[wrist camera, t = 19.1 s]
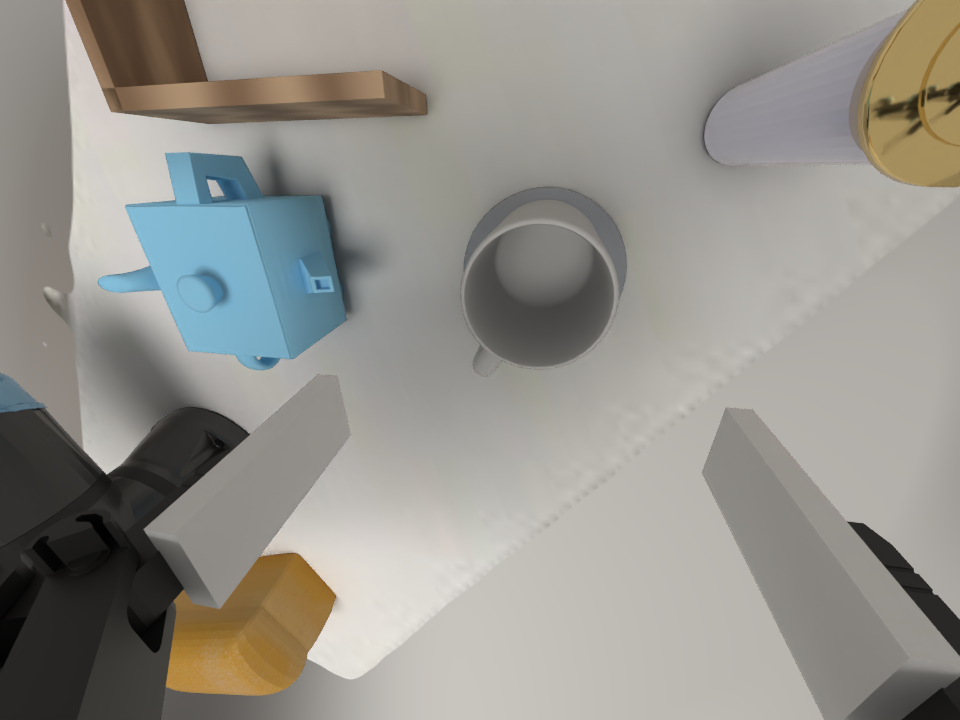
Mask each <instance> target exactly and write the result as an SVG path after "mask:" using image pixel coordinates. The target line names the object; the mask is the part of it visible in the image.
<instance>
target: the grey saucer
mask: <svg viewBox="0 0 960 720" xmlns="http://www.w3.org/2000/svg"><path fill="white" fill-rule="evenodd" d="M548 199H549V200H557V201H562V202H565V203H567V204H570V205H572V206H574V207H575V208H577V209H578V210H580V211H581V212H582V213H584V214H585V216H586V217H587V218H588V219H589V220H590V221H591V223H592V224H593V226H594V228H595V230H596V232H597V234H598V236H599V238H600V239H601V241H602V243H603V245H604V246H605V248H606V250H607V251H608V253H609V255H610V257H611V259H612V261H613V264H614V267H615V270H616V273H617V278H618V283H619V298H620V295H621V293H622V290H623V286H624V282H625V278H626V268H627V267H626V253H625V247H624V244H623V241H622V238H621V235H620V233H619V231H618V229H617V227H616V225H615V224H614V222H613V221H612V219H611V218H610V217H609V215H608V214H607V213H606V212H605V211H604V210H603V209H602V208H601V207H600V206H599V205H597V204H596V203H595V202H593V201H592V200H591V199H589V198H587V197H585V196H583V195H582V194H579V193H577V192H574V191H571V190H567V189H562V188H555V187H542V188H533V189H529V190H525V191H522V192H519V193H517V194H514V195H512V196H510V197H508V198H507V199H505V200H503V201H502V202H500V203H499V204H498V205H496V206H495V207H493V208H492V209H491V210H490V211H489V212H488V213H487V214H486V215H485V216H484V218H483V219H482V220H481V221H480V222H479V224H478V225H477V227H476V229H475V230H474V232H473V234H472V236H471V238H470V241H469V243H468V246H467V250H466V253H465V259H464V271H465V268H466V265H467V263H468V261H469V259H470V257H471V256H472V254H473V253H474V251H475V249H476V248H477V247H478V246H479V244H480V243H481V242H482V241H483V240H484V239H485V238H486V237H487V236H488V235H489V234H490V233H491V232H492V231H493V230H494V229H495V228H496V227H497V226H498V225H499V224H500V223H501V222H502V221H503V220H504V219H505V217H507V216H508V215H509V214H510V213H511V212H512V211H514V210H515V209H517V208H518V207H520V206H522V205H524V204H527V203H530V202H533V201H537V200H548ZM618 300H619V299H618Z"/></svg>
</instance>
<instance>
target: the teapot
mask: <svg viewBox="0 0 960 720" xmlns="http://www.w3.org/2000/svg"><path fill="white" fill-rule="evenodd" d="M165 155H166V160H167V164H168V169H169V173H170V177H171V182H172V186H173V191H174V195H175V200H174V201H163V202H152V203H140V204H129V205H126V206H125V208H126V210H127V213H128V215H129V218H130V220H131V222H132V225H133V227H134V229H135V232H136V234H137V236H138V239H139V241H140V243H141V245H142V248H143V250H144V252H145V255H146V257H147V259H148V261H149V264H150V266H149V267H146V268H143V269H140V270H136V271H133V272H128V273H123V274H115V275H107V276H103V277H101V278H99V279H98V284H99V286H100V287H101V288H103V289H105V290H107V291H111V292H118V293H124V292H137V291H153V290H161V291H162V293H163V296H164V298H165V300H166V302H167V305H168V307H169V309H170V311H171V314H172V316H173V318H174V320H175V322H176V325H177V327H178V329H179V331H180V334H181V336H182V338H183V340H184V342H185V345H186V347H187V349H188V351H195V352H208V353H219V354H230V355H236V357H237V359H238V361H239V362H240V363H241V364H243V365H244V366H246V367H248V368H250V369H254V370H267V369H270V368H272V367H274V366H275V365H276V364H277V363H278V361H279V360H280V358H283V359H294V358H295V357H297V356H298V355H299V354H301V353H302V352H303V351H305V350H306V349H307V348H309V347H310V346H312V345H313V344H314V343H316V342H317V341H318V340H320V339H321V338H322V337H324V336H325V335H327V334H328V333H329V332H331V331H332V330H333V329H335V328H336V327H338V326H339V325H340V324H342V323H343V322H344V321H346V320H347V318H346V313H345V308H344V303H343V298H342V294H343V287H342V285H341V283H340V282H339V278H338V273H337V268H336V263H335V258H334V253H333V248H332V243H331V238H330V233H331V227H330V223H329V221H328V220H327V218H326V214H325V209H324V204H323V199H322V196H263V195H262V193H261V191H260V189H259V187H258V186H257V184H256V182H255V180H254V178H253V176H252V175H251V173H250V171H249V169H248V167H247V165H246V164H245V162H244V160H243V158H242V157H239V156H227V155H214V154H202V153H189V152H187V153H165ZM206 179H209V180H216V181H217V183H218V184H219V186H220V188H221V190H222V191H223V193H224V195H225V196H219V197H211V194H210V190H209V187H208V183H207V180H206ZM256 356H257V357H261V359H260V360H258V359H257V358H256Z"/></svg>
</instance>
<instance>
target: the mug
mask: <svg viewBox="0 0 960 720" xmlns="http://www.w3.org/2000/svg"><path fill="white" fill-rule="evenodd" d="M618 299H619V283H618V278H617V273H616V270H615V267H614V264H613V261H612V259H611V257H610V255H609V253H608V251H607V250H606V248H605V246H604V245H603V243H602V241H601V239H600V238H599V236H598V234H597V232H596V230H595V228H594V226H593V224H592V223H591V221H590V220H589V219H588V218H587V217H586V216H585V214H584V213H582V212H581V211H580V210H578V209H577V208H575V207H574V206H572V205H570V204H567V203H565V202H562V201H557V200H549V199H548V200H537V201H533V202H530V203H527V204H524V205H522V206H520V207H518V208H517V209H515V210H514V211H512V212H511V213H510V214H509V215H508V216H507V217H505V219H504V220H503V221H502V222H501V223H500V224H499V225H498V226H497V227H496V228H495V229H494V230H493V231H492V232H491V233H490V234H489V235H488V236H487V237H486V238H485V239H484V240H483V241H482V242H481V243H480V244H479V246H478V247H477V248H476V249H475V251H474V253H473V254H472V256H471V257H470V259H469V261H468V263H467V265H466V268H465V271H464V274H463V278H462V283H461V306H462V310H463V315H464V318H465V320H466V323H467V325H468V327H469V329H470V331H471V333H472V334H473V336H474V337H475V339H476V340H477V341H478V342H479V343H480V347H479V349H478V351H477V353H476V355H475V358H474V361H473V364H472V365H473V369H474V371H475V372H476V373H477V374H478V375H481V376H485V377H486V376H489V375H491V374H492V373H493V371H494V370H495V369H496V368H497V366H498V365H499V364H500V362H501V361H504V362H506V363H508V364H511V365H514V366H517V367H521V368H527V369H551V368H556V367H560V366H563V365H566V364H569V363H571V362H574V361H576V360H578V359H579V358H581V357H583V356H584V355H586V354H587V353H588V352H590V351H591V350H592V349H593V348H594V347H595V346H596V345H597V344H598V343H599V342H600V341H601V340H602V339H603V337H604V336H605V335H606V333H607V331H608V330H609V328H610V326H611V324H612V322H613V320H614V317H615V314H616V310H617V307H618Z"/></svg>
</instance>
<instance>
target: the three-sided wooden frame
mask: <svg viewBox="0 0 960 720" xmlns="http://www.w3.org/2000/svg"><path fill="white" fill-rule="evenodd" d="M66 3H67V5H68V8H69V10H70V13H71V15H72V17H73V20H74V22H75V25H76V27H77V30H78V32H79V35H80V37H81V39H82V42H83V44H84V47H85V49H86V52H87V54H88V57H89V59H90V61H91V64H92V66H93V69H94V71H95V74H96V76H97V79H98V81H99V84H100V86H101V88H102V91H103V93H104V96H105V98H106V101H107V103H108V106H109V108H110V110H111V112H117V113H125V114H133V115H141V116H149V117H157V118H165V119H174V120H182V121H190V122H198V123H206V124H219V123H243V122H267V121H291V120H315V119H339V118H363V117H387V116H411V115H427V106H426V94H424V93H422V92H420V91H418V90H416V89H415V88H413V87H411V86H409V85H407V84H406V83H404V82H402V81H400V80H398V79H396V78H395V77H393V76H391V75H389V74H387V73H386V72H384V71H382V70H380V71H364V72H349V73H333V74H318V75H302V76H287V77H271V78H256V79H240V80H225V81H209V82H208V81H207V78H206V75H205V71H204V68H203V64H202V61H201V58H200V54H199V51H198V47H197V44H196V41H195V37H194V34H193V30H192V27H191V24H190V20H189V17H188V14H187V10H186V7H185V3H184V0H66Z"/></svg>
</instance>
